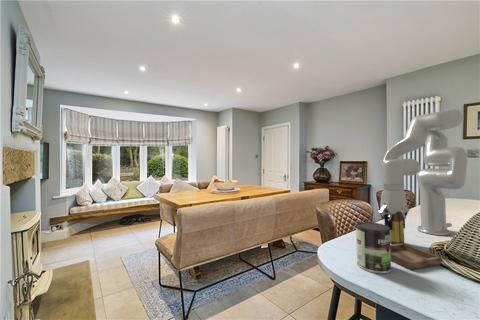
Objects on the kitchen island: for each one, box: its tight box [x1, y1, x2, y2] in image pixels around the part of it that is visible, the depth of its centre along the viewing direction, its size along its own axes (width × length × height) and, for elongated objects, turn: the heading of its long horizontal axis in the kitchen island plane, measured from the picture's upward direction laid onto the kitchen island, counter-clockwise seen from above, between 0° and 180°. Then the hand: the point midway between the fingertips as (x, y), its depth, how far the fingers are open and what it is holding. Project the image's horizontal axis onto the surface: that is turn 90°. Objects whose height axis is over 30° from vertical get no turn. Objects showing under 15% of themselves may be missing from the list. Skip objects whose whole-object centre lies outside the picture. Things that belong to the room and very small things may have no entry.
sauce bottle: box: [387, 211, 405, 245], centre depth 96 cm, size 7×6×20 cm
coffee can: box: [355, 221, 392, 275], centre depth 76 cm, size 10×10×14 cm
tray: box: [390, 242, 443, 271], centre depth 81 cm, size 14×14×2 cm
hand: (394, 228), depth 96 cm, fingers closed on sauce bottle, 6 cm apart
